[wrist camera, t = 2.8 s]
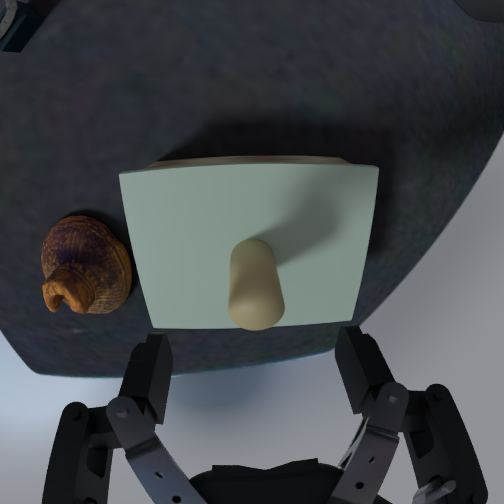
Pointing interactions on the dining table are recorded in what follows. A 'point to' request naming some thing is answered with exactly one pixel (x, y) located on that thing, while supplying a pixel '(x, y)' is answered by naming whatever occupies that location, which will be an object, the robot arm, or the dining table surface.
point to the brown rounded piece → (84, 266)
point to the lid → (250, 241)
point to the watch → (17, 25)
